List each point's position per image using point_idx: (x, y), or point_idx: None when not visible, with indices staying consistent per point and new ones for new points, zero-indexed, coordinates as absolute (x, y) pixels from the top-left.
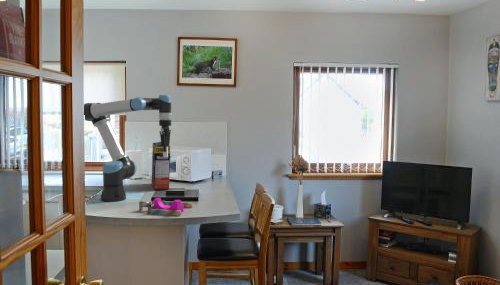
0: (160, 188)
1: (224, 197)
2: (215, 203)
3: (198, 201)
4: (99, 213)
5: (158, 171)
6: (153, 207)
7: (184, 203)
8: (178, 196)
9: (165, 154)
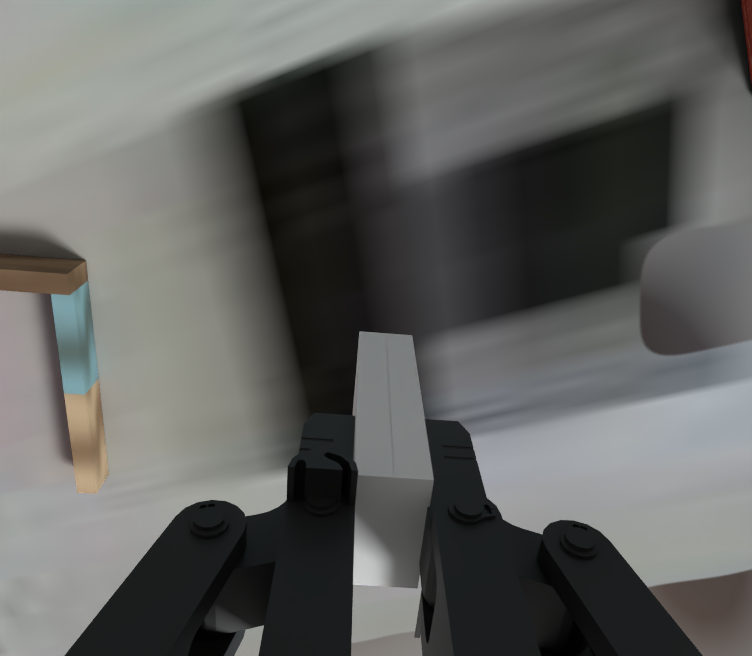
0: (744, 8)
1: None
2: None
3: (284, 472)
4: None
5: None
6: None
7: (72, 443)
8: (435, 288)
9: (354, 409)
